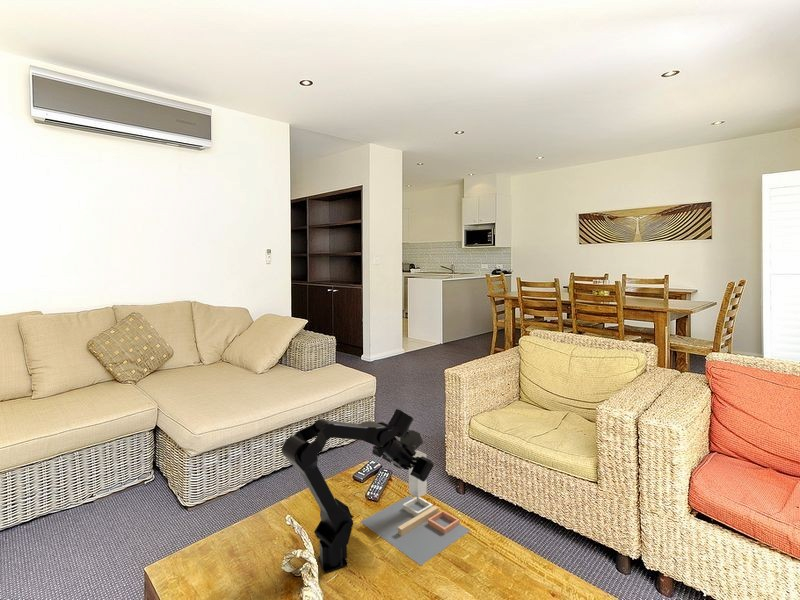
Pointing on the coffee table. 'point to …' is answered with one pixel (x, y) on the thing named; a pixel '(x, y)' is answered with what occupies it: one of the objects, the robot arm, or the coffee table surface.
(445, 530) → the socket
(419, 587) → the coffee table surface
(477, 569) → the coffee table surface
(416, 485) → the block
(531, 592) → the coffee table surface
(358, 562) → the coffee table surface
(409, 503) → the socket
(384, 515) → the door board
